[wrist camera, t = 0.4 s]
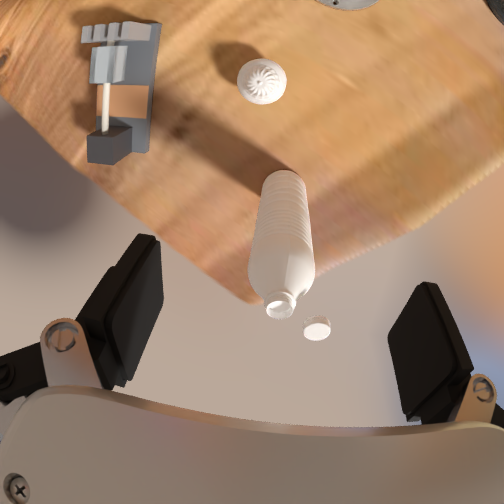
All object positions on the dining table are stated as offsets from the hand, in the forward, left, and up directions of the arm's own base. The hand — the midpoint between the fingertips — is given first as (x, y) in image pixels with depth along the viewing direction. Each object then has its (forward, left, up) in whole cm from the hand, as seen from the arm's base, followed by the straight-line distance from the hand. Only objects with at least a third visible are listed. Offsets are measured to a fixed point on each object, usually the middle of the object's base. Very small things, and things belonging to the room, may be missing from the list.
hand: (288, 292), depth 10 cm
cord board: (-2, -24, -35) cm, 42 cm away
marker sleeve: (-6, -24, -31) cm, 39 cm away
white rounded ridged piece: (-5, -4, -35) cm, 36 cm away
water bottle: (+11, +3, -35) cm, 37 cm away
